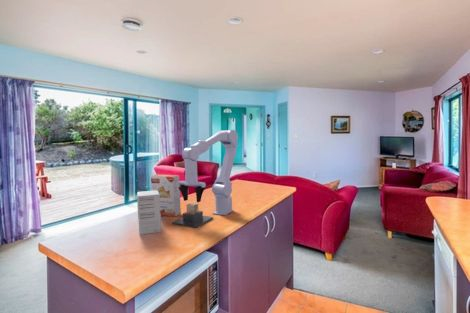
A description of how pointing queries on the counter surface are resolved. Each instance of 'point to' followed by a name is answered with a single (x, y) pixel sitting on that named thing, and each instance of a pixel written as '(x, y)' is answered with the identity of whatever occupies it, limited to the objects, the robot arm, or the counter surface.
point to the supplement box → (149, 212)
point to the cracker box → (167, 193)
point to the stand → (192, 220)
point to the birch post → (192, 208)
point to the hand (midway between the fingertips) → (192, 201)
